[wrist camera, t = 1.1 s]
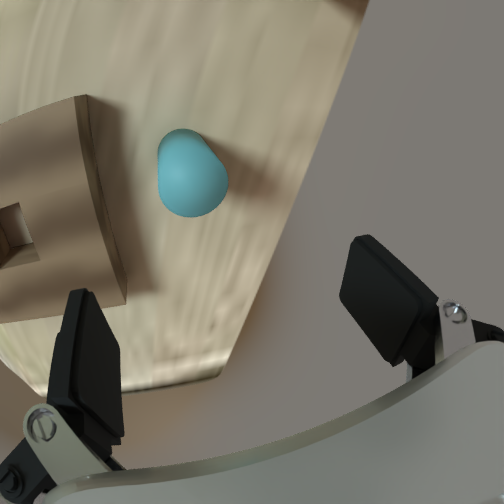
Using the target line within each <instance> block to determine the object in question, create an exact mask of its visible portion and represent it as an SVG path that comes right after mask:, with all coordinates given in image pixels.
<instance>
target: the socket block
mask: <svg viewBox="0 0 504 504" xmlns="http://www.w3.org/2000/svg"><path fill="white" fill-rule="evenodd" d="M18 202H19V204H20V207H21V210H22V213H23V216H24V219H25V222H26V225H27V228H28V230H29V233H30V235H31V238H32V241H33V243H31V244H27V245H23V246H19V247H16V248H12V249H11V248H10V246H9V244H8V241H7V239H6V236H5V234H4V231H3V229H2V226H1V224H0V324H2V323H9V322H17V321H24V320H31V319H38V318H45V317H52V316H58V315H64V312H65V308H66V304H67V300H68V296H69V293H70V291H71V290H76V289H82V288H87V289H88V291H89V292H90V291H92V292H93V293H94V295H95V297H96V299H97V301H98V304H99V306H100V308H101V309H102V308H108V307H114V306H120V305H125V304H126V293H127V278H126V275H125V272H124V269H123V266H122V263H121V259H120V256H119V253H118V250H117V246H116V243H115V239H114V236H113V232H112V229H111V225H110V221H109V218H108V214H107V210H106V206H105V201H104V197H103V193H102V188H101V184H100V179H99V174H98V169H97V164H96V159H95V153H94V147H93V141H92V135H91V128H90V121H89V113H88V104H87V94H86V95H80V96H75V97H71V98H68V99H65V100H61V101H58V102H55V103H52V104H49V105H47V106H44V107H41V108H38V109H36V110H33V111H30V112H28V113H25V114H23V115H20V116H18V117H16V118H13V119H11V120H9V121H7V122H4V123H2V124H0V208H3V207H6V206H9V205H12V204H15V203H18Z"/></svg>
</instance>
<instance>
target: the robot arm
mask: <svg viewBox="0 0 504 504" xmlns="http://www.w3.org/2000/svg"><path fill="white" fill-rule="evenodd" d="M339 297H340V300H341V302H342V303H343V305H344V306H345V307H346V309H347V310H348V312H349V313H350V314H351V315H352V317H353V318H354V319H355V321H356V322H357V323H358V325H359V326H360V327H361V329H362V330H363V331H364V333H365V334H366V335H367V337H368V338H369V339H370V341H371V342H372V343H373V345H374V346H375V347H376V349H377V350H378V351H379V353H380V354H381V356H382V357H383V358H384V360H385V361H387V362H389V363H390V364H391V365H392V367H394V366H396V365H398V364H400V363H402V362H403V361H404V359H405V360H406V361H407V377H406V383H405V384H404V385H402V386H400V387H398V388H397V389H395V390H393V391H391V392H390V393H388V394H386V395H384V396H382V397H380V398H378V399H376V400H374V401H372V402H370V403H368V404H367V405H364V406H362V407H360V408H358V409H356V410H354V411H352V412H350V413H347V414H345V415H343V416H341V417H339V418H336V419H334V420H331V421H329V422H327V423H324V424H322V425H319V426H317V427H314V428H312V429H309V430H306V431H304V432H301V433H298V434H295V435H293V436H290V437H287V438H284V439H281V440H278V441H275V442H271V443H268V444H265V445H262V446H258V447H255V448H251V449H248V450H243V451H239V452H235V453H231V454H227V455H223V456H218V457H214V458H209V459H203V460H199V461H192V462H186V463H181V464H174V465H168V466H160V467H151V468H142V469H131V470H126V469H125V468H124V467H123V466H122V465H121V464H120V463H119V462H118V461H117V460H116V459H115V458H114V457H113V456H112V455H111V454H112V447H111V445H121V439H120V437H124V423H123V413H122V397H121V373H120V348H119V344H118V342H117V340H116V338H115V336H114V334H113V332H112V331H111V329H110V327H109V325H108V323H107V320H106V318H105V316H104V314H103V312H102V310H101V308H100V306H99V304H98V301H97V299H96V297H95V295H94V293H93V292H92V291H90V292H89V291H88V289H87V288H82V289H76V290H71V291H70V293H69V296H68V300H67V304H66V308H65V312H64V316H63V321H62V325H61V330H60V332H59V333H58V334H57V337H56V341H55V346H54V351H53V357H52V363H51V370H50V377H49V384H48V393H47V403H46V404H43V403H41V404H37V405H35V406H33V407H32V408H30V410H29V411H28V412H27V413H26V415H25V418H24V422H23V431H24V435H25V438H24V439H23V440H22V441H21V442H20V443H19V444H18V446H17V447H16V448H15V449H14V450H13V451H12V452H11V453H10V454H9V455H8V456H7V458H6V459H5V460H4V461H3V462H2V463H1V464H0V504H504V331H503V330H502V329H500V328H498V327H496V326H493V325H490V324H486V323H482V322H479V321H476V320H472V319H471V317H470V314H469V312H468V310H467V309H466V307H464V306H463V305H462V304H461V303H459V302H458V301H455V300H450V299H447V300H443V301H442V302H441V303H440V305H439V307H438V306H437V305H436V303H437V301H438V299H439V298H438V297H437V296H436V295H435V294H434V293H433V292H432V291H431V290H430V289H429V288H428V287H427V286H426V285H425V284H424V283H423V282H422V281H421V280H420V279H419V278H418V277H417V276H416V275H415V274H414V273H413V272H412V271H410V270H409V269H408V268H407V267H406V266H405V265H404V264H403V263H402V262H401V261H400V260H398V259H397V258H396V257H395V256H394V255H393V254H392V253H391V252H389V251H388V250H387V249H386V248H385V247H384V246H383V245H382V244H380V243H379V242H378V241H377V240H376V239H375V238H374V237H372V236H371V235H368V234H367V235H362V236H357V237H355V239H354V240H353V242H352V243H351V245H350V250H349V254H348V259H347V264H346V268H345V272H344V277H343V281H342V285H341V289H340V293H339Z"/></svg>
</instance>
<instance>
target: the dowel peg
mask: <svg viewBox="0 0 504 504" xmlns="http://www.w3.org/2000/svg"><path fill="white" fill-rule="evenodd" d="M227 189H228V175H227V172H226V169H225V167H224V166H223V164H222V163H221V162H220V160H219V159H218V158H217V157H216V155H215V154H214V153H213V151H212V150H211V149H210V148H209V146H208V145H207V144H206V143H205V141H204V140H203V139H202V138H201V136H200V135H199V134H198V133H196V132H194V131H192V130H189V129H177V130H174V131H172V132H170V133H168V134H167V135H166V136H165V137H164V138H163V139H162V141H161V142H160V144H159V147H158V190H159V195H160V198H161V200H162V202H163V204H164V205H165V206H166V207H167V208H168V209H169V210H170V211H171V212H173V213H175V214H177V215H179V216H183V217H198V216H202V215H205V214H207V213H209V212H211V211H212V210H214V209H215V208H216V207H217V206H218V205H219V204H220V203H221V202H222V200H223V199H224V197H225V195H226V192H227Z"/></svg>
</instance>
